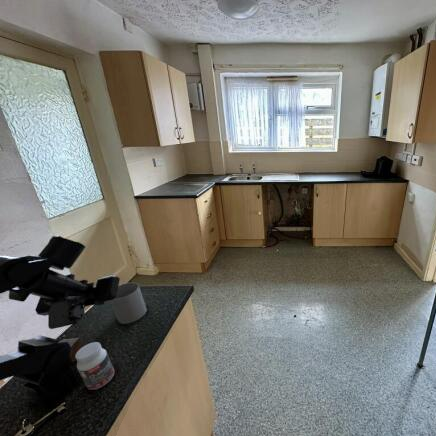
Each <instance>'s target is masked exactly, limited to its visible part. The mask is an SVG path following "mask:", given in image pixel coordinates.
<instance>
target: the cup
mask: <svg viewBox="0 0 436 436" xmlns="http://www.w3.org/2000/svg"><path fill="white" fill-rule="evenodd" d="M141 291H142V290H141V288H140V285H139V283H138V282H133V281H132V282H127V283H122V284H119V285H118V290H117V295H116V297H115V298H114V299H113V300H109V302H110V304H111V305H110V306H111V307H112V309H113V312H114V314H115V316H116V319H117V322H118V323H119V324H121V325H128V324H131V323H135V322H136V321H138V320H140V319H141V318H143V317H144V316H145V315H146V313H147V311H148V309H147V305H146V303H145V300H144V297H143V295H142V292H141Z"/></svg>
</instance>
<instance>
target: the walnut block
mask: <svg viewBox="0 0 436 436" xmlns="http://www.w3.org/2000/svg"><path fill="white" fill-rule="evenodd" d="M61 341H64V342H67V343H69V344H70V346H71V351H70V354H69V364H74V363H75V362H76V361H77V360H76V357H75V355H76V353H77V352H78V351H79V350H80V349H81V348H82V347H84V345H83V342H82V341H81V339H80V337H74V338H64V339H61Z"/></svg>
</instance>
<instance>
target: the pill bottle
mask: <svg viewBox="0 0 436 436" xmlns="http://www.w3.org/2000/svg"><path fill="white" fill-rule="evenodd" d="M75 357H76V360H75V361H76V362H77V363H76V369H77V371H78V372H79V375H80V376H81V378H82V381H83V383H84V385H85V386H86V389H88V390H93V391H94V390H98V389H100V388H102V387H104V386H105V385H107V384H108V383H110V381H111V380H112V379H113V377H114V375H115V368H114V365H113V364H112V361H111V358H110V357H109V354H108V352H107V350H106V349H104V348H103V347H102V345H101V343H100V342H98V341H94V342H89V343H88V344H86V345H83V347H82V348H81V349H80V350H79V351H78V352H77V353H76V355H75Z"/></svg>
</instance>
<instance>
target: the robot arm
mask: <svg viewBox="0 0 436 436" xmlns="http://www.w3.org/2000/svg"><path fill="white" fill-rule="evenodd" d="M85 249H86V245H85V244H83V243H81V242H79V241H75V240H72V239H70V238H65V237H63V236H61V235H52V236H51V238H50V239H49V241H48V242H47V244H46V245H45V247H44V248H43V249H42V250H41V251H40V253H39V254H38V255H31V254H27V255H20V256H11V255H3V254H1V255H0V295H1V294H4V293H6V292H8V299H9V300H11V301H15V302H20V303H24V302H25V301H26V300H27V299H28V298H29V296H30V295H32V296H36V297H39V300H38V301H37V304H36V307H35V312H36V314H37V315H39V316H43V317H45V316H48V319H47V322H48V323H47V327H48V329H50V330H54V329H59V328H64V327H69V326H73V325H76V324H78V323H80V322H81V319H83V318H85V316H86V308H85V307H89V306H103V305H105V302H108V301H109V302H110V300H113V299H114V298H115V297H116V295H117V290H118V286H120V280H121V278H120V277H119V276H117V275H114V274H110V275H106V276H103V277H100V278H98V279H97V280H96V283H95V282H94V281H93V282H89V280H88V279H81V280H77V279H75V278H76V275H75V274H73V273H70V274H66V275H65V274H62V273H61V272H60V273H59V272H57V271H64V270H65V269H68V270H70V269H71V268H72V267H73V266H74V264H75V263H76V262H77V260H78V258H80V256H81V255H82V254H83V252H84V251H85ZM50 268H51V269H50ZM53 269H54V270H53ZM55 270H56V271H55ZM88 282H89V283H88ZM70 351H71V346H70V344H69V343H67V342H64V341H62V340H60V339H57V338H54V337H53V338H52V337H49V336H44V335H41V334H39V335H37V336H35V337H33V338H28V339H21V340H19V341H17V347H16V348H15V349H13V350H12V351H10V352H8V353H6V354H3V355H0V381H3V380H6V379H8V378H14V379H17V380H20V381H24V382H26V383H25V384H23V387H24V388H25V390H26V392H27V393H28V394H29V396H30V398H31V399H30V400H29V402H30V403H31V404H33V405H35V406H39V407H42V408H45V409H48V410H50V409H52V408H53V407H54V406H55V405H57V403H58V402H59V401H60V400H62V399H63V398H64V397H65V396H66V395H67V394H68V393H69V392H70V391H72V390H73V388H74V387H75V386H77V384H78V383H79V382H80V380H79V379H78V378H75V377H76V375H75V373H74V372H73V371H74V370H73V369H72V368H71V366H70V363H69V354H70Z"/></svg>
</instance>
